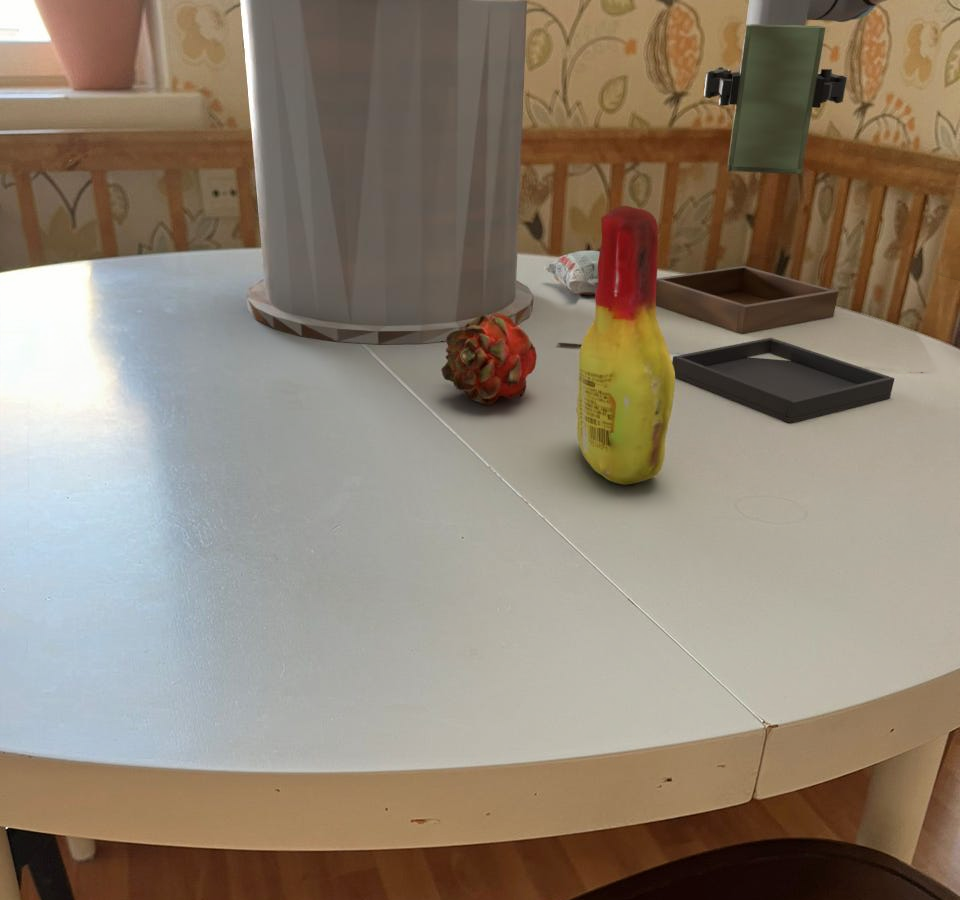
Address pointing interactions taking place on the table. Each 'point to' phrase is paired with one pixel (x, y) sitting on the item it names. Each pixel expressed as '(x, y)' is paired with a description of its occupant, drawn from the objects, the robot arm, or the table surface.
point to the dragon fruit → (489, 359)
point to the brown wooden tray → (745, 299)
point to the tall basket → (775, 98)
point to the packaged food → (577, 271)
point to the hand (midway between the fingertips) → (776, 91)
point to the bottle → (625, 356)
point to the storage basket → (386, 165)
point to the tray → (782, 379)
